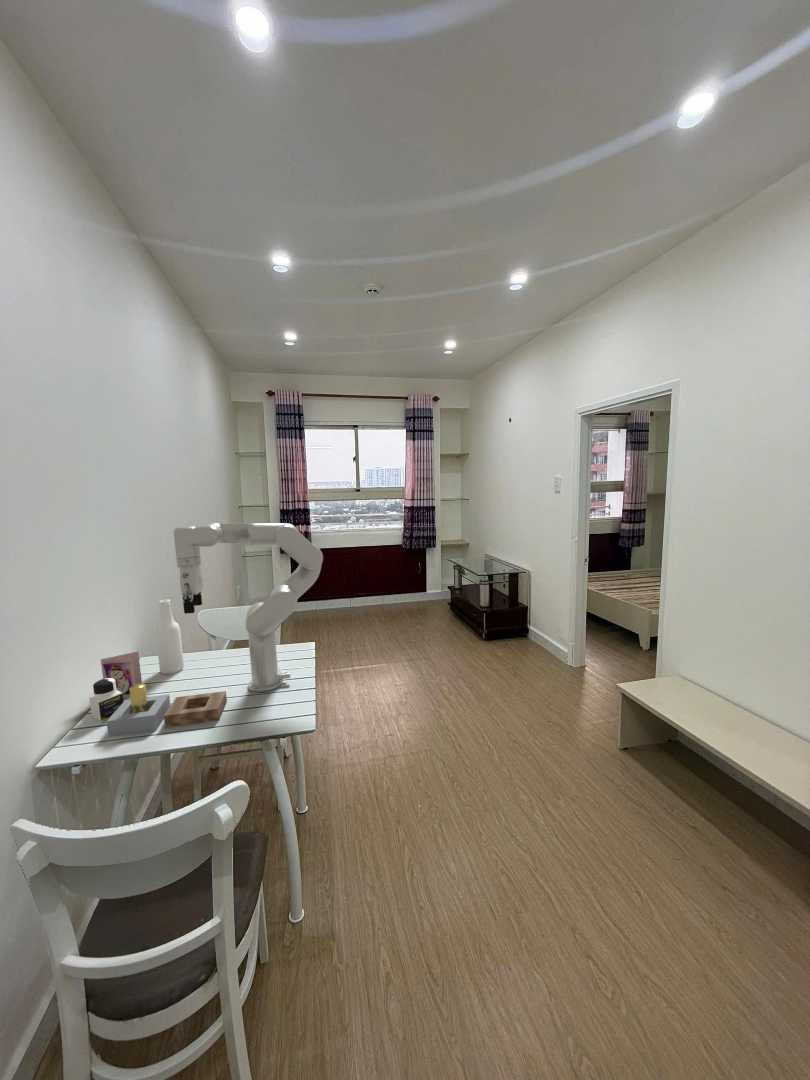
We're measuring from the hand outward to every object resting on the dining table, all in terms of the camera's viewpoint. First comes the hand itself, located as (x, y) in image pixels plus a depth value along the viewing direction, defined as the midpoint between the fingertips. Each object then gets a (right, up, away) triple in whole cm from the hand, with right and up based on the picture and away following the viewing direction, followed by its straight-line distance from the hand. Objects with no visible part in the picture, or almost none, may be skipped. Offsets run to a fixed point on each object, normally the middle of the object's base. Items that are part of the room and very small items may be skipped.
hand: (193, 609), depth 148 cm
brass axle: (-11, -33, -13) cm, 37 cm away
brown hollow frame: (+6, -34, -9) cm, 35 cm away
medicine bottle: (-25, -35, -7) cm, 43 cm away
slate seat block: (-11, -35, -12) cm, 38 cm away
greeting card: (-28, -33, +6) cm, 44 cm away
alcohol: (-22, -30, +26) cm, 45 cm away
